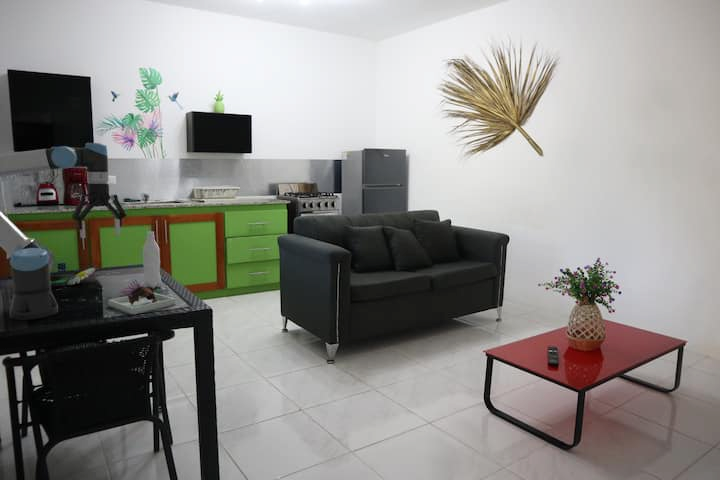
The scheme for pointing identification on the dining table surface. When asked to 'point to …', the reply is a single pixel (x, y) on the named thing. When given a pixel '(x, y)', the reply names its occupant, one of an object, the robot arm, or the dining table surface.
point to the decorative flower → (77, 277)
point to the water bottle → (151, 261)
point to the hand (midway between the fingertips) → (100, 236)
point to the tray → (141, 304)
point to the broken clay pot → (142, 294)
